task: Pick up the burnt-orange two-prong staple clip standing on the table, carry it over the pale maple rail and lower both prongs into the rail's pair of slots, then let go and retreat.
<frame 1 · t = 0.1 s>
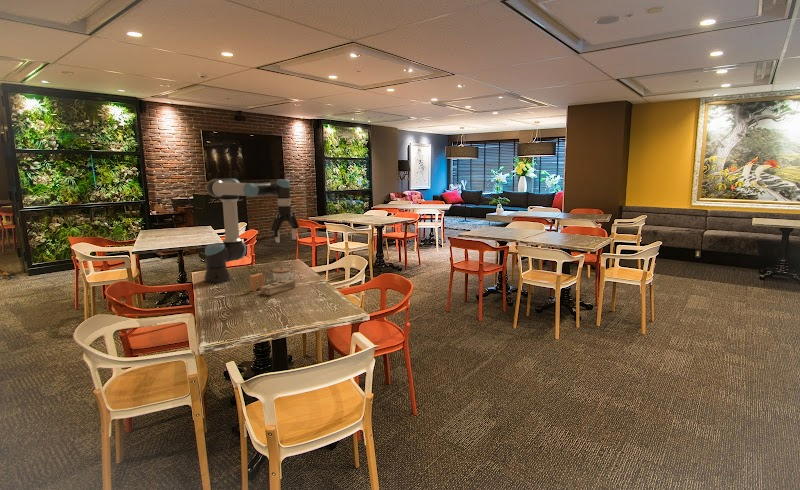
hand: (286, 240, 257), 28 cm above the table, fingers open, 13 cm apart
clip: (257, 289, 253), on the table
lidded jar: (282, 281, 271), on the table
rail: (278, 290, 251), on the table
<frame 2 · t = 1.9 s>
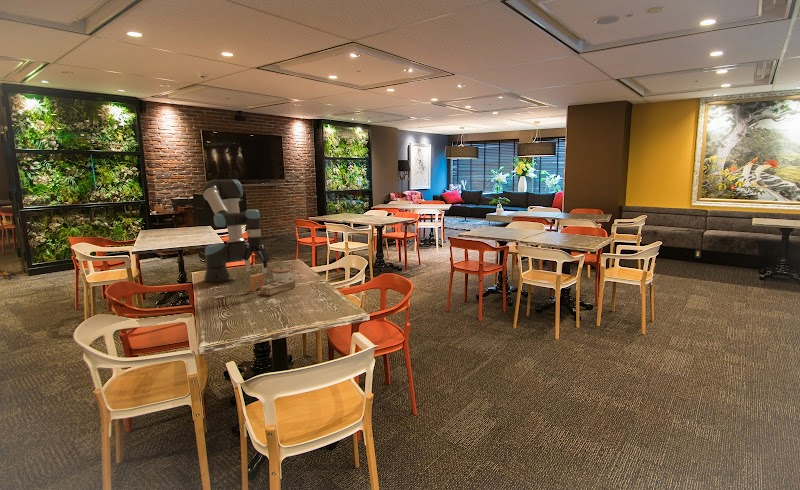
hand: (256, 272, 251), 11 cm above the table, fingers open, 13 cm apart
nothing on the table moved.
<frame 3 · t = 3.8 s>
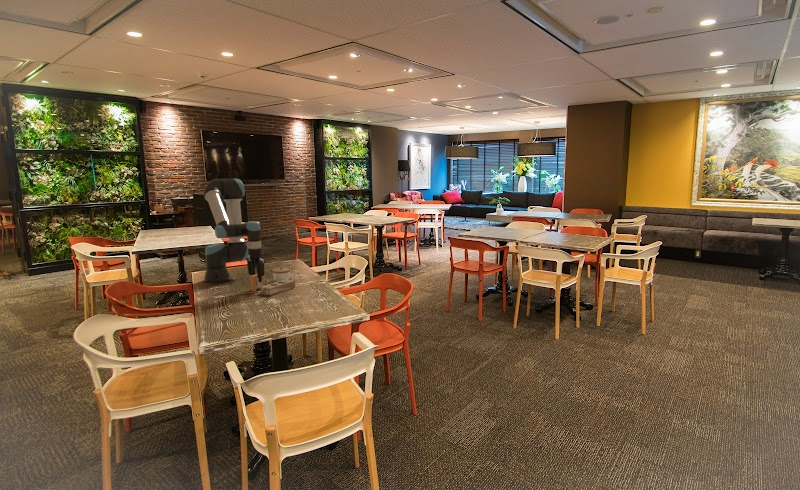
hand: (257, 286, 253), 2 cm above the table, fingers closed on clip, 3 cm apart
clip: (257, 289, 253), on the table, touching gripper
everything else where it was.
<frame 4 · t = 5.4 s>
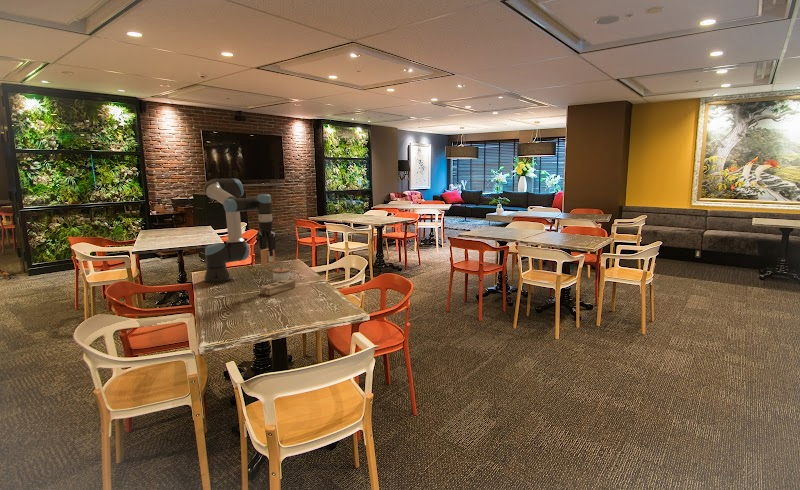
hand: (268, 261, 248), 18 cm above the table, fingers closed on clip, 3 cm apart
clip: (268, 264, 248), point 16 cm above the table, touching gripper
everything else where it was.
when the fingers open (4 cm above the table, at t = 7.3 s): clip drops 3 cm, resting in rail.
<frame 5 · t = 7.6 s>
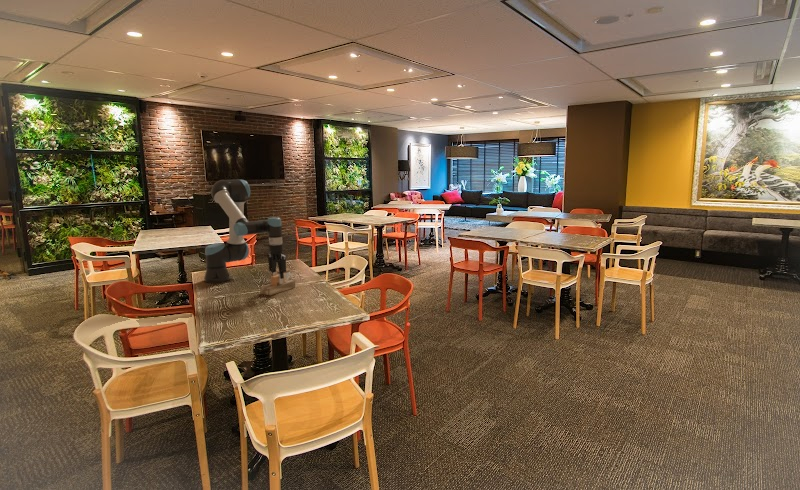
hand: (278, 283, 250), 4 cm above the table, fingers open, 4 cm apart
clip: (278, 290, 251), resting in rail
everything else where it was.
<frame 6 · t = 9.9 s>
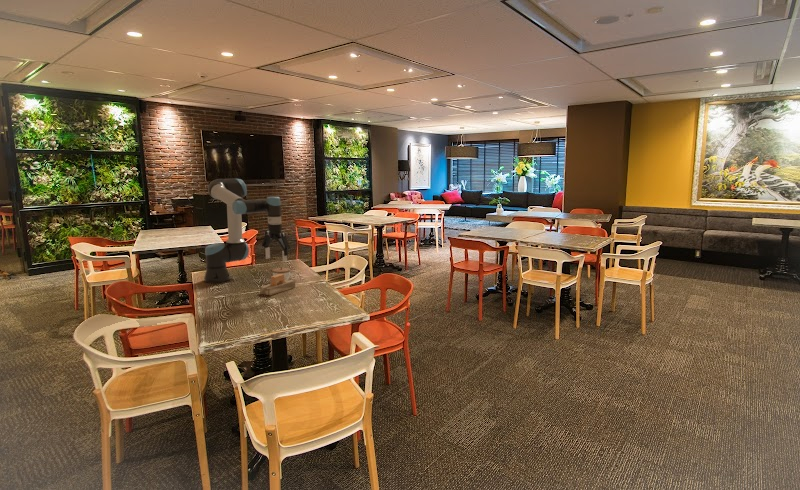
hand: (276, 259, 248), 18 cm above the table, fingers open, 13 cm apart
nothing on the table moved.
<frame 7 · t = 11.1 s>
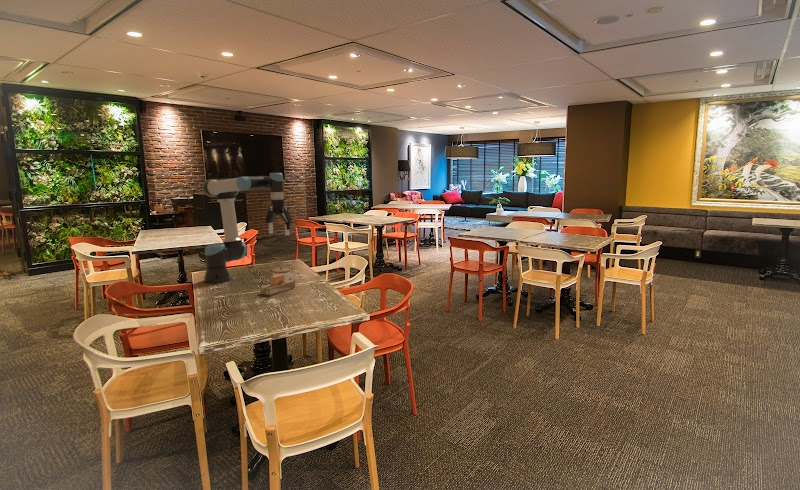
hand: (279, 234, 258), 32 cm above the table, fingers open, 13 cm apart
nothing on the table moved.
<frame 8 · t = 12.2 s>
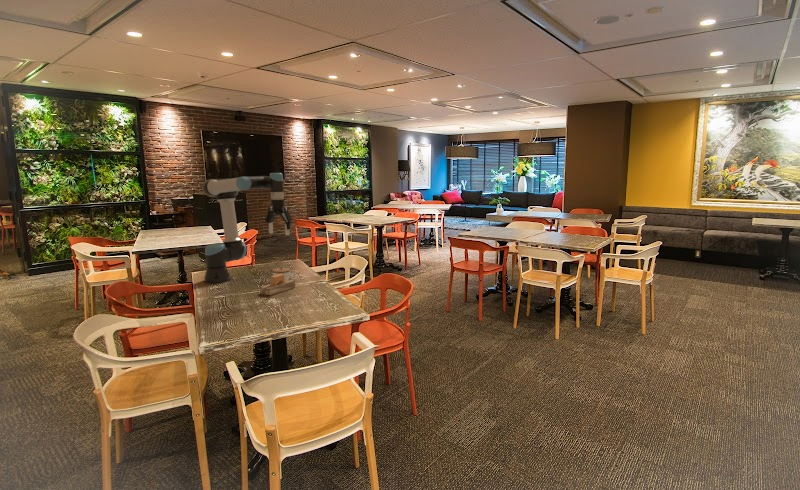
hand: (279, 234, 258), 32 cm above the table, fingers open, 13 cm apart
nothing on the table moved.
at the end: clip 0.2 cm off-centre on the rail, point 0.0 cm above the rail's base; clip tilted 0°; the gripper is holding nothing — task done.
